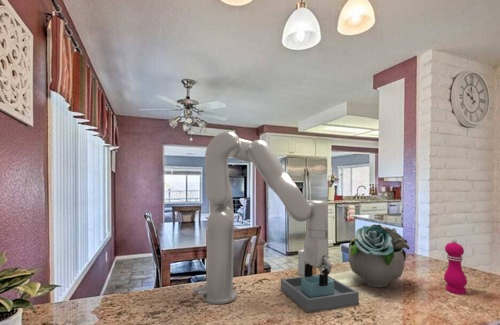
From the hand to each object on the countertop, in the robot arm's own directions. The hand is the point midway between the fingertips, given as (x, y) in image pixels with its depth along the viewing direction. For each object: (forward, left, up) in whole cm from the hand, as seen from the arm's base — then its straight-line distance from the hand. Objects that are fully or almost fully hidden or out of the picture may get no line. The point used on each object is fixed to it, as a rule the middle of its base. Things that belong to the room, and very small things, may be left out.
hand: (315, 280), depth 103 cm
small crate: (+1, 0, -5) cm, 5 cm away
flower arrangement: (+31, +3, -6) cm, 31 cm away
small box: (+11, +23, -6) cm, 26 cm away
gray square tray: (+1, 0, -6) cm, 6 cm away
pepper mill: (+55, -13, -6) cm, 57 cm away
